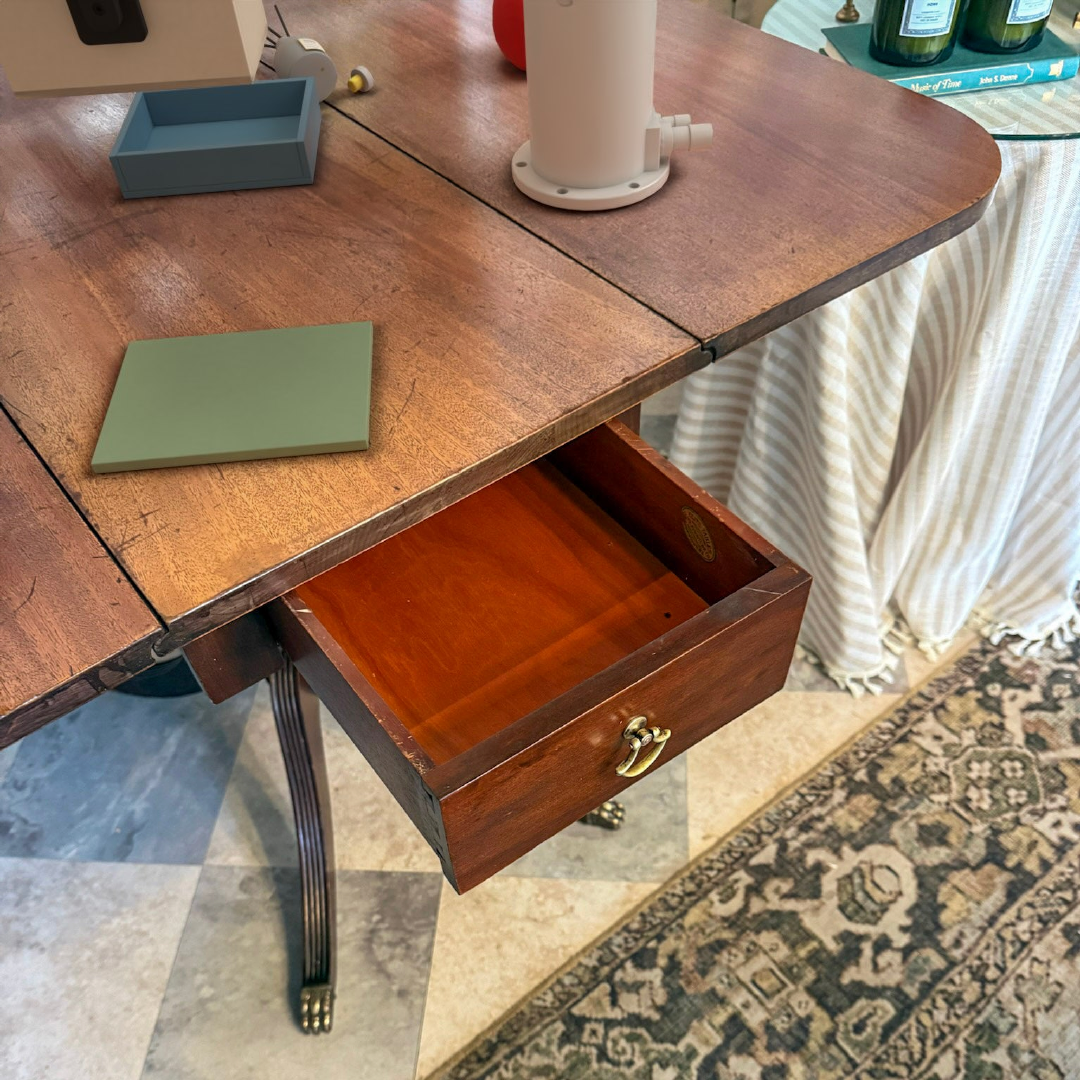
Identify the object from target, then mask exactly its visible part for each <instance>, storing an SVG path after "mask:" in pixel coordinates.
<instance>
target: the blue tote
mask: <svg viewBox="0 0 1080 1080" xmlns="http://www.w3.org/2000/svg"><path fill="white" fill-rule="evenodd" d="M322 117H323V116H322V111H321V107H320V102H319V101H318V96H317V91H316V86H315V81H314V77H301V78H288V79H279V78H278V79H275V78H274V79H265V80H263V79H262V80H254V82H253V84H249V85H234V86H219V87H204V88H189V89H174V90H159V91H144V92H135V94H134V97H133V99H132V101H131V103H130V106H129V108H128V110H127V113H126V115H125V117H124V120H123V122H122V125H121V127H120V129H119V130H118V131H119V132H118V133H117V136H116V139H115V141H114V142H113V145H112V147H111V149H110V152H109V155H108V159H109V162H110V164H111V167H112V170H113V172H114V175H115V178H116V180H117V184H118V186H119V189H120V192H121V194H122V197H123V199H125V200H127V199H128V200H129V199H139V198H140V199H141V198H152V197H163V196H177V195H191V194H202V193H214V192H215V193H216V192H227V191H238V190H239V191H240V190H241V191H242V190H251V189H252V190H253V189H264V188H278V187H288V186H289V187H290V186H303V185H313V183H314V177H315V172H316V171H315V170H316V162H317V154H318V148H319V147H318V146H319V140H320V133H321V125H322V119H323V118H322Z"/></svg>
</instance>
